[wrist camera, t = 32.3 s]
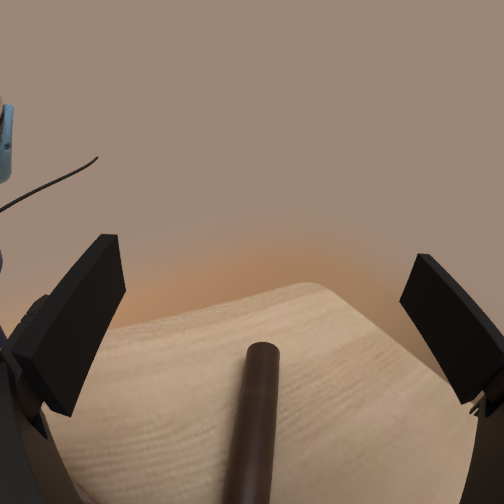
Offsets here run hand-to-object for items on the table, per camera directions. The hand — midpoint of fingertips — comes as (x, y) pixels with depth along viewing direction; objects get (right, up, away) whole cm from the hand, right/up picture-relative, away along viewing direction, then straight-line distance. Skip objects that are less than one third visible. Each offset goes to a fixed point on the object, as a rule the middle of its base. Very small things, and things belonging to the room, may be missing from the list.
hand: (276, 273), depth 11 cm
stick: (0, -7, +10) cm, 12 cm away
